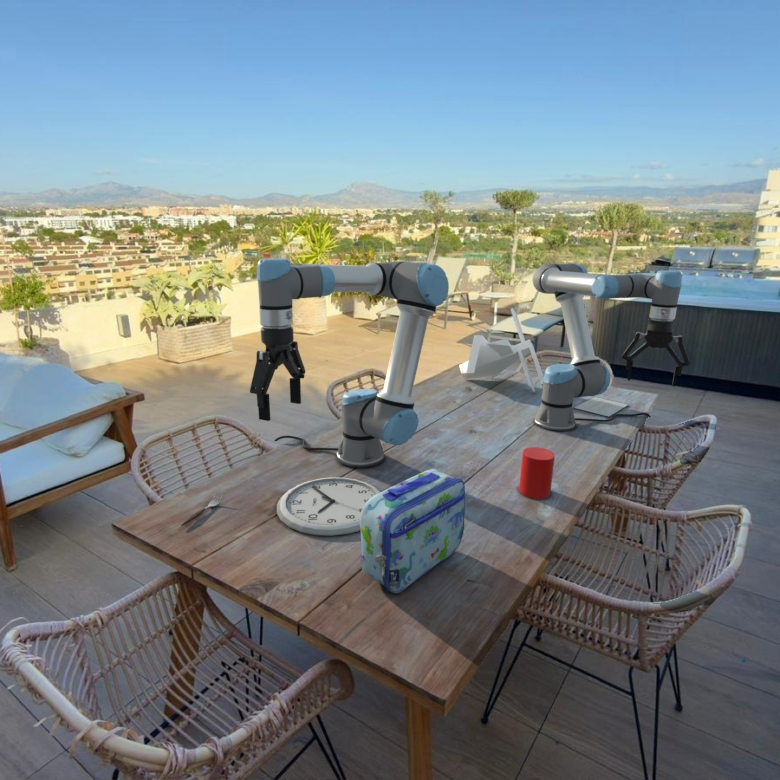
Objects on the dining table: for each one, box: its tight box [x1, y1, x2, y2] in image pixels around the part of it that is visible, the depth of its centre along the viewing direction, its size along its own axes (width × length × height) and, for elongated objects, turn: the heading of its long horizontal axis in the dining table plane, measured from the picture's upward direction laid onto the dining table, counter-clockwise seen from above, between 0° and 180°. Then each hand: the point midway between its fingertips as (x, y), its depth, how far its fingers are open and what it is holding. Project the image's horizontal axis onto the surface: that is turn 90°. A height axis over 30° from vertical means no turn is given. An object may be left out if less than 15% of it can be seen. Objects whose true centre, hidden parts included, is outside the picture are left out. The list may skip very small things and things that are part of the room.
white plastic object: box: [458, 307, 544, 393], centre depth 255 cm, size 37×45×31 cm
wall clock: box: [276, 476, 382, 537], centre depth 142 cm, size 30×2×30 cm
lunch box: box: [359, 468, 466, 594], centre depth 114 cm, size 26×11×21 cm, turn 134°
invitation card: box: [573, 396, 629, 418], centre depth 226 cm, size 21×1×15 cm
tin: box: [518, 446, 556, 500], centre depth 150 cm, size 9×9×12 cm
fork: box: [180, 491, 225, 527], centre depth 138 cm, size 3×16×2 cm, turn 160°
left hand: (280, 411), depth 130 cm, fingers open, 13 cm apart
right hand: (650, 382), depth 176 cm, fingers open, 13 cm apart
